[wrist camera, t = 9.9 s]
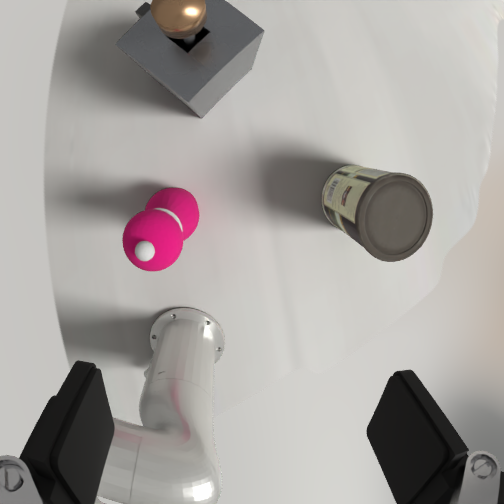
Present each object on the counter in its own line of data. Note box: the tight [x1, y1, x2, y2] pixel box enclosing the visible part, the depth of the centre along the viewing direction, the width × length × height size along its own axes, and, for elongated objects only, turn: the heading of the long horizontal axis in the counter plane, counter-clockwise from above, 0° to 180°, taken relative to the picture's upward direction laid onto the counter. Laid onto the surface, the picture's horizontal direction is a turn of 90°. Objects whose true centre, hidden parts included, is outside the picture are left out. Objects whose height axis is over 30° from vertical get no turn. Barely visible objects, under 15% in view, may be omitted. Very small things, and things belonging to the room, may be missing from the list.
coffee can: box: [322, 165, 433, 262], centre depth 40 cm, size 10×10×14 cm
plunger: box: [151, 0, 207, 53], centre depth 25 cm, size 7×7×17 cm
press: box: [116, 0, 264, 118], centre depth 31 cm, size 10×13×16 cm
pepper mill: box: [123, 188, 199, 271], centre depth 36 cm, size 7×7×20 cm
